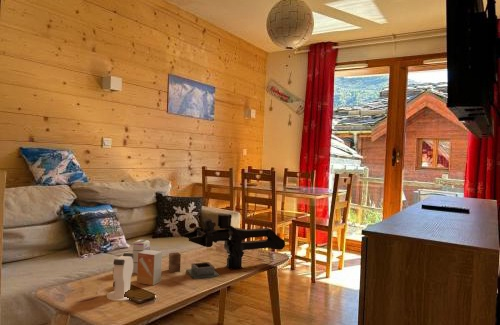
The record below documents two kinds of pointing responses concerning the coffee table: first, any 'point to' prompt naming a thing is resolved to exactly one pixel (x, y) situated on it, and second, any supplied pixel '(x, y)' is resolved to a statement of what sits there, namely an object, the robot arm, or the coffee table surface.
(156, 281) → the small box
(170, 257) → the peg
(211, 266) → the socket
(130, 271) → the white piece
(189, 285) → the coffee table surface
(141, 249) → the syrup box
